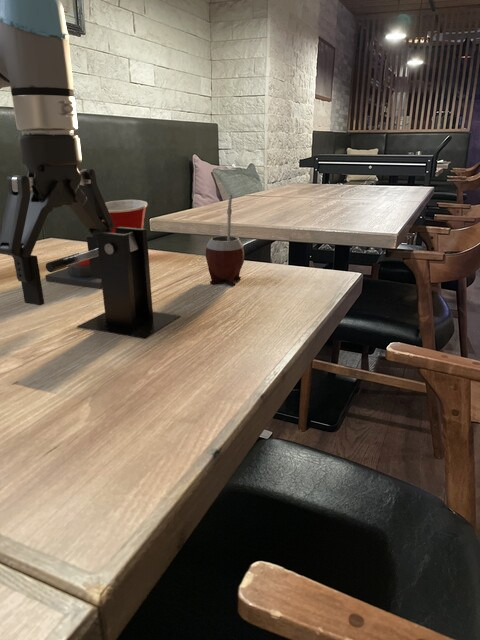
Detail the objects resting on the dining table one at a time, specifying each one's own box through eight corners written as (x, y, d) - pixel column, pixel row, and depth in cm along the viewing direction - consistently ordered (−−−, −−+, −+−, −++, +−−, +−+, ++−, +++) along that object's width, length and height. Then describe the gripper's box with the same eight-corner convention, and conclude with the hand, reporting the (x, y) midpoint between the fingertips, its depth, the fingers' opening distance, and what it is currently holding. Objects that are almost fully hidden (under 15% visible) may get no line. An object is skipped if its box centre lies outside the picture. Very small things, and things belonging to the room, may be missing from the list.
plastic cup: (91, 262, 106) (85, 205, 101) (117, 251, 115) (112, 199, 111) (136, 265, 103) (132, 207, 98) (159, 254, 112) (156, 200, 108)
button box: (46, 287, 88) (43, 265, 87) (84, 273, 97) (81, 253, 96) (100, 295, 84) (98, 272, 83) (135, 279, 93) (133, 259, 91)
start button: (71, 266, 88) (70, 256, 88) (88, 260, 92) (87, 251, 91) (91, 268, 87) (90, 258, 86) (107, 262, 90) (106, 253, 90)
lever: (49, 276, 68) (42, 260, 68) (78, 266, 73) (72, 251, 73) (120, 255, 62) (113, 237, 62) (147, 246, 67) (141, 229, 67)
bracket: (78, 334, 67) (64, 234, 63) (118, 313, 75) (109, 222, 70) (145, 346, 63) (136, 240, 58) (180, 323, 71) (175, 227, 66)
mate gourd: (217, 289, 87) (215, 202, 81) (198, 278, 93) (195, 197, 88) (253, 282, 90) (253, 199, 85) (232, 273, 97) (231, 194, 91)
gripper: (-11, 133, 52) (22, 321, 59) (129, 133, 73) (140, 271, 81) (-60, 133, 55) (-22, 313, 62) (89, 133, 76) (103, 267, 84)
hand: (69, 289), depth 72 cm, fingers open, 13 cm apart
